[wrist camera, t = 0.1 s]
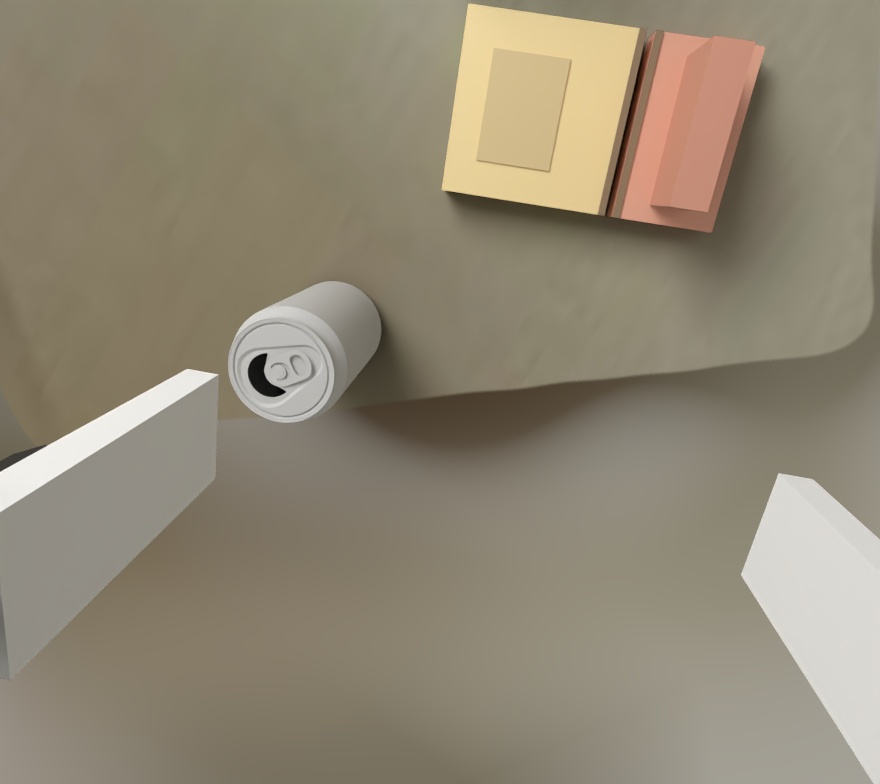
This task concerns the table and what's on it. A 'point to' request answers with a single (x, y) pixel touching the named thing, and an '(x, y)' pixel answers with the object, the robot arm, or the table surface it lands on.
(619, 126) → the tan flat square block
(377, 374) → the table surface
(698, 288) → the table surface
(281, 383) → the beverage can
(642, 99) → the pink stepped block
